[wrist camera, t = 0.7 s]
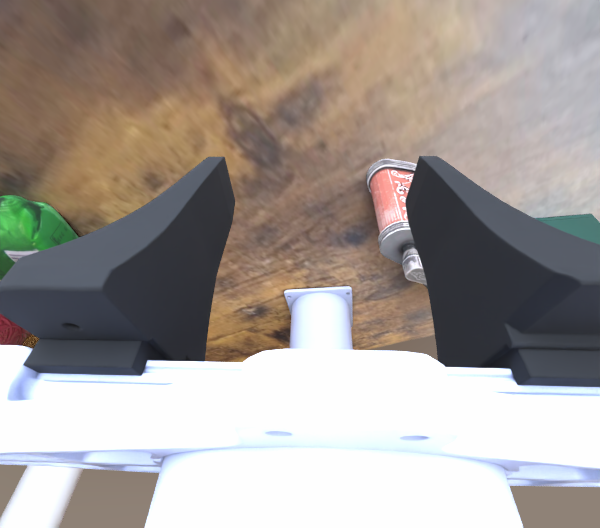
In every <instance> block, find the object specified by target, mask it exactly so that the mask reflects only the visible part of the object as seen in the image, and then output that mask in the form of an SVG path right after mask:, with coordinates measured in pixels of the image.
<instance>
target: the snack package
mask: <svg viewBox="0 0 600 528" xmlns="http://www.w3.org/2000/svg"><path fill="white" fill-rule="evenodd" d="M77 238H79V237H78V236H77V234H76V233H75V232H74V231H73V229H72V228H71V227H70V226H69V225H68V224H67V223H66V221H65V220H64V219H63V218H62V216H61V215H60V214H59V213H58V212H57V211H56V210H55V209H54V208H53V207H51V206H50V205H49V204H47V203H43V202H33V201H29V200H26V199H24V198H22V197H20V196H14V195H6V196H1V197H0V280H2V279H3V277H4V276H5V275H6V274H7V272H8V271H9V270H10V269H11V268H12V266H13V265H14V264H15V263H16V262H17V260H18V259H19V258H20V257H23V256H27V255H30V254H33V253H36V252H39V251H42V250H45V249H48V248H52V247H55V246H58V245H61V244H64V243H66V242H69V241H72V240H74V239H77Z"/></svg>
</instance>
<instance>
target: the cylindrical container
mask: <svg viewBox="0 0 600 528" xmlns="http://www.w3.org/2000/svg"><path fill="white" fill-rule="evenodd" d="M82 471H83V468H69V467H50V466H30V465H28V466H27V468H26V470H25V472H24V474H23V476H22V478H21V479H20V482H19V483H18V485H17V487H16V489H15V491H14V493H13V495H12V497H11V499H10V501H9V503H8V505H7V507H6V509H5V510H4V512H3V514H2V516H1V518H0V528H59V526H60V524H61V521H62V519H63V517H64V514H65V512H66V509H67V507H68V504H69V502H70V500H71V497H72V495H73V492H74V490H75V487H76V485H77V482H78V480H79V478H80V475H81V473H82Z"/></svg>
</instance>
